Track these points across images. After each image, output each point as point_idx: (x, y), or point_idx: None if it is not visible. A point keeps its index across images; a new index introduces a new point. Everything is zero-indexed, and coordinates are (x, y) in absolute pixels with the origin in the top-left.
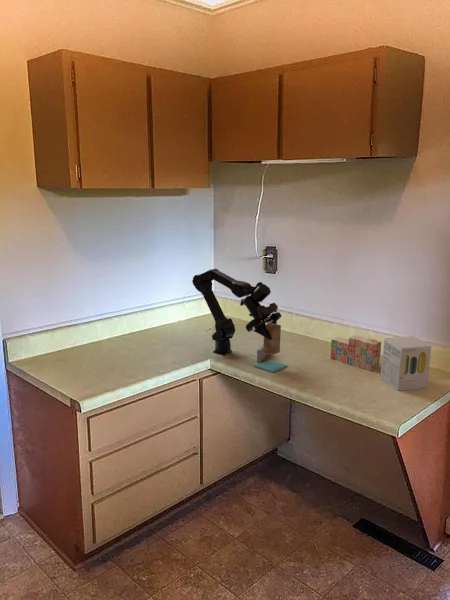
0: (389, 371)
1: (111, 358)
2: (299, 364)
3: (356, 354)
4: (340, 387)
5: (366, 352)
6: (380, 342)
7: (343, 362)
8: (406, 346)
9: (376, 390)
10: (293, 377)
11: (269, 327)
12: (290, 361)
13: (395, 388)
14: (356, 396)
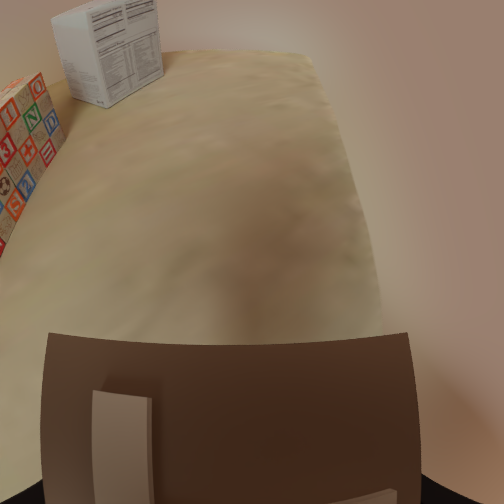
0: (132, 62)
1: None
2: (100, 334)
3: (23, 147)
4: (230, 126)
5: (38, 109)
6: (15, 81)
7: (19, 214)
8: None
9: (188, 88)
10: (273, 261)
11: (407, 476)
12: None
13: (159, 76)
14: (255, 95)
